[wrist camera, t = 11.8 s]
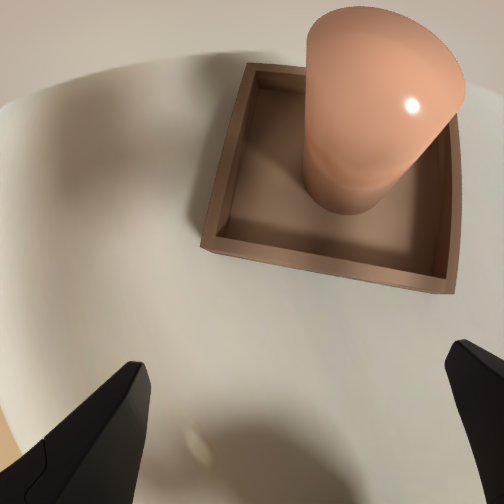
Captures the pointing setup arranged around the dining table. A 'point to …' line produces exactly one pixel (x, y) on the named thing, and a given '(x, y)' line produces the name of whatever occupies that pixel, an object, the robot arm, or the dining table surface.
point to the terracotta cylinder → (372, 103)
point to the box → (316, 217)
